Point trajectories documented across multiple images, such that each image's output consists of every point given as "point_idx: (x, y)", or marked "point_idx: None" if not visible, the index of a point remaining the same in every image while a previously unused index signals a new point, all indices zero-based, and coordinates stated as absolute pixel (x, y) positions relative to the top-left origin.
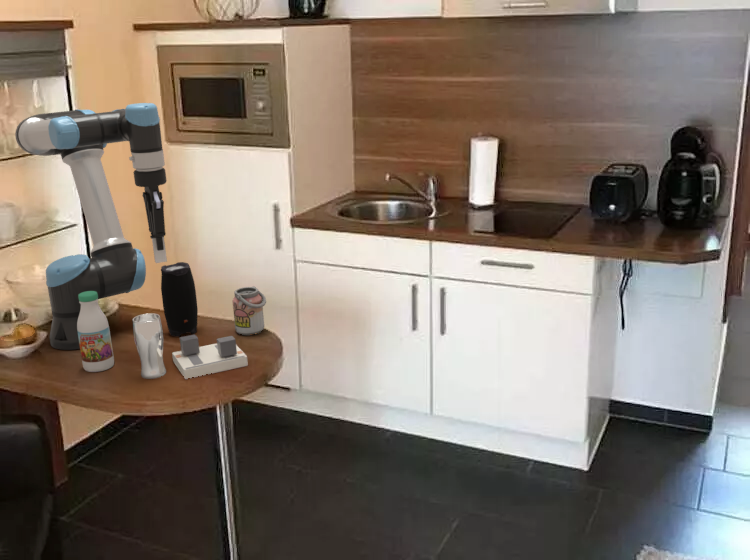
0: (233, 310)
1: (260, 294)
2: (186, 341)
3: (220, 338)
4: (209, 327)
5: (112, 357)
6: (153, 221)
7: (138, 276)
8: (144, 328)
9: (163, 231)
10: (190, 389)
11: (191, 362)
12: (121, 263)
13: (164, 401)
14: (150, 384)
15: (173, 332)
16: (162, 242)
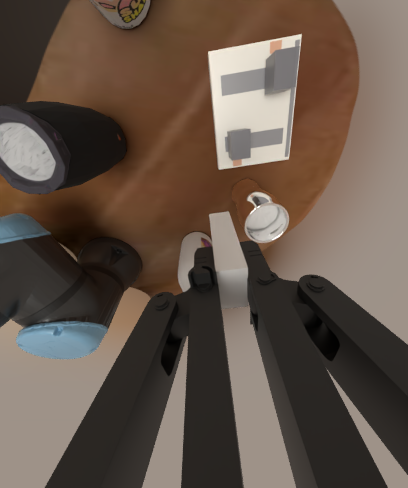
0: (106, 6)
1: None
2: (250, 150)
3: (276, 82)
4: (88, 88)
5: (202, 236)
6: (369, 420)
7: (28, 230)
8: (282, 224)
9: (345, 303)
10: (316, 153)
11: (269, 145)
12: (20, 273)
13: (326, 186)
14: None
15: (121, 158)
16: (264, 261)
